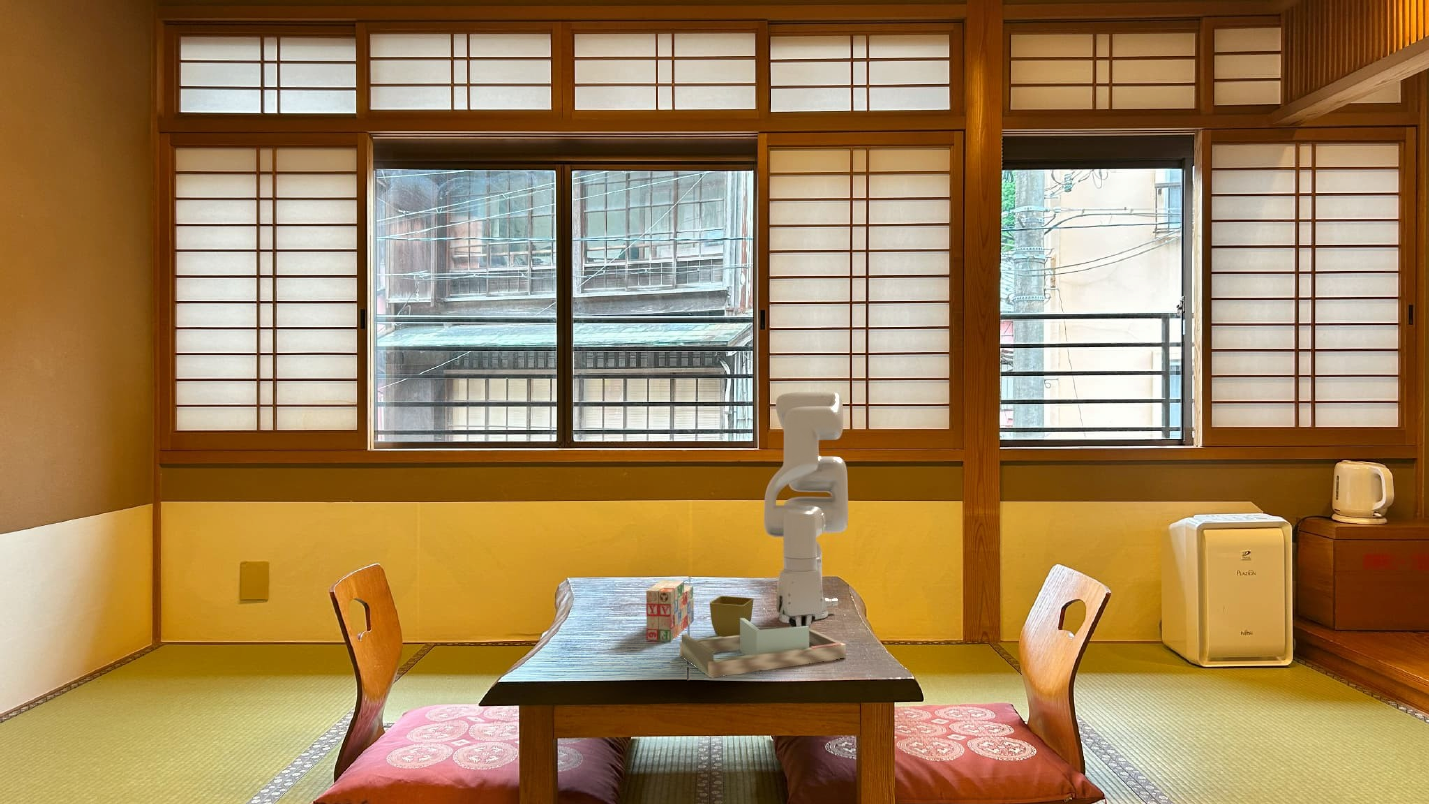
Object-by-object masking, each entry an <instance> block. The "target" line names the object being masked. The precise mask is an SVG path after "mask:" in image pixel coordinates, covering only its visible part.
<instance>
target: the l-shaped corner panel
mask: <svg viewBox="0 0 1429 804" xmlns="http://www.w3.org/2000/svg"><path fill="white" fill-rule="evenodd" d="M804 648H809V627H808V626H801V627H791V626H789V627H780V628H779V627H777V628H767V629H765V628H763V629H759V628H758V627H757V626H756V625H754V624H753V623H751V622H749V621H748V620H746V619H745V618H740V650H739V651H740V653H741V654H742V655H743V656H746V655H760V654H768V653H775V652H782V651H790V650H797V649H804Z"/></svg>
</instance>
